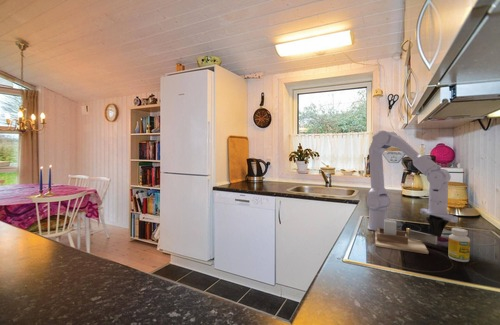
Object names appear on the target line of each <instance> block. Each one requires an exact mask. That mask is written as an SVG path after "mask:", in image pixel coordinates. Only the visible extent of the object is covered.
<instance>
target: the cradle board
mask: <svg viewBox="0 0 500 325" xmlns="http://www.w3.org/2000/svg"><path fill="white" fill-rule="evenodd" d="M374 239H375V244H374V245H375V247H381V248H385V249H387V248H388V249H392V250H398V251H399V250H400V251H407V252H410V253H411V252H413V253H418V254H426V255H429V250H428V248H427V246H426V245H425V242H423V241H419V240H415V239H412V238H408V237H406V231H405V230H397V229H396V235H389V234H384V229H383V228H377V231H375V230H374Z"/></svg>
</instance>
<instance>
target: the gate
mask: <svg viewBox="0 0 500 325" xmlns="http://www.w3.org/2000/svg"><path fill="white" fill-rule="evenodd" d="M405 235H406V237H408V238H412V239H415V240H419V241H422V242H423V243H428V244H432V245H435V246H437V245H438V237H437V236H435V235H433V234H430V233H426V232H421V231H417V230H414V229H413V230H412V229H411V228H408V227H406V231H405Z"/></svg>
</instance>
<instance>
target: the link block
mask: <svg viewBox="0 0 500 325" xmlns="http://www.w3.org/2000/svg"><path fill="white" fill-rule="evenodd" d="M397 224H398V223H397V220H393V219H388V218H387V219H384V234H389V235H396V230H397Z"/></svg>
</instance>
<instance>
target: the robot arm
mask: <svg viewBox="0 0 500 325" xmlns="http://www.w3.org/2000/svg"><path fill="white" fill-rule="evenodd" d="M391 147H394V148H397V149H398V150H400V151H401V152H402V153H403V154H404V155H406V156H407V157H408V158H409V159H411V160H412V166H414V167H415V168H416V169H417V170H418V171H419V172H421V173H422V175H424V176H425V177H426V180H427V182H428V183H429V188H428V208H420V209H419V212H420V213H419V214H421V215H426V218H425V219H426V221H427V223H428V224H429V226H430V229H431V233H432V234H431V235H435V236H437V238H441V237H442V235H443V234H442V233H443V231H444V229H445V227H446V226H447V224H449V222H450V223H458V221H459V220H458V216H455V215H453V214H450V213H448V201H449V200H448V199H449V182H450V180H451V174H450V172H449V171H448V170H447V169H444V168H442V166H441V165H439V164H437V163H436V162H435V161H434V160H432V157H431V156H430V155H426V154H420V153H419V152H418V151H417V150H415V148H414V147H412V146H411V145H410V144H409V143H408V142H407V141H406V140H405V139H404V138H403V137H402V136H400V134H399V135H398V133H396V132H394V131H386V130H378V131H377V132H376V133H374V134H373V136H372V142H371V143H370V146H369V148H368V160H369V175H370V189H369V190H368V193H367V194H368V195H367V198H366V205H367V207H368V210H369V211H368V213H369V214H368V223H367V230H371V231H374V232H375V231H377V228H383V229H384V219H387V220H388V207H389V206H390V204H391V199H390V197H389V195H388V190H387V189H386V188H385V177H384V160H383V153H384V152H385V151H386V150H387V149H389V148H391Z"/></svg>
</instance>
